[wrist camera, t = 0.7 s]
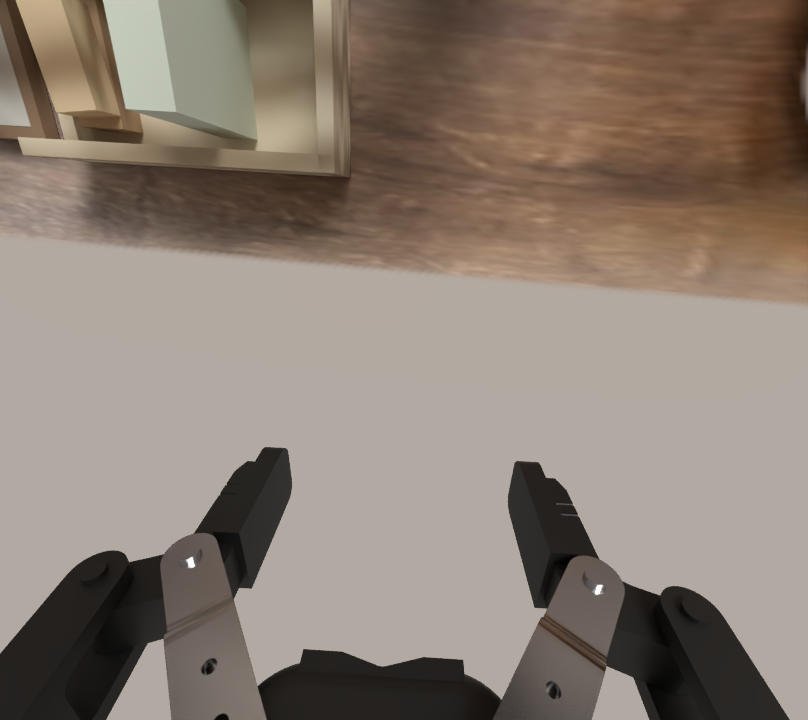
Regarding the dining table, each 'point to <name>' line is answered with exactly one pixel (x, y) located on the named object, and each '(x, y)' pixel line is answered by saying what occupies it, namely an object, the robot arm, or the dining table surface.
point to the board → (21, 82)
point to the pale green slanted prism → (186, 63)
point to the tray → (274, 105)
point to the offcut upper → (69, 57)
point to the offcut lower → (128, 119)
